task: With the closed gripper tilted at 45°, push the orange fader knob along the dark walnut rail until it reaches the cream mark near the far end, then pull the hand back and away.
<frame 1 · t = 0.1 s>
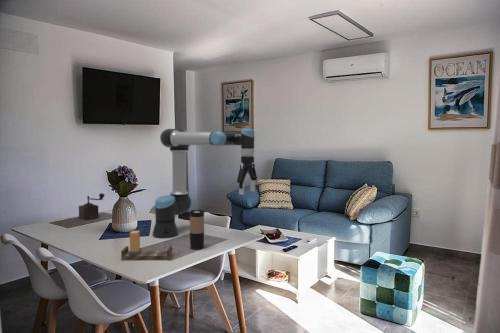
hand: (247, 192, 209), 28 cm above the table, tool pointing down, fingers open, 13 cm apart
fader knob: (135, 242, 179), point 8 cm above the table, slide at 0.0 cm
travel mug: (197, 248, 197), on the table
fader rail: (147, 257, 180), on the table
brown manual coffee grinder: (92, 218, 268), on the table
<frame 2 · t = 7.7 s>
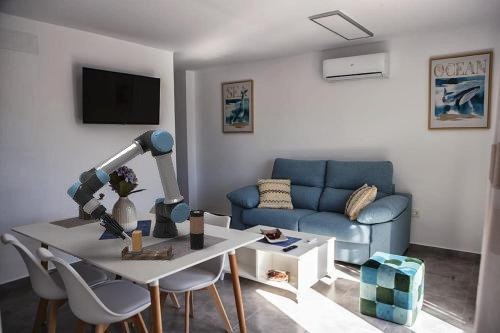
hand: (130, 242, 179), 8 cm above the table, tool tilted 45°, fingers closed
fader knob: (137, 242, 180), point 8 cm above the table, slide at 1.1 cm, touching gripper
everything else where it was.
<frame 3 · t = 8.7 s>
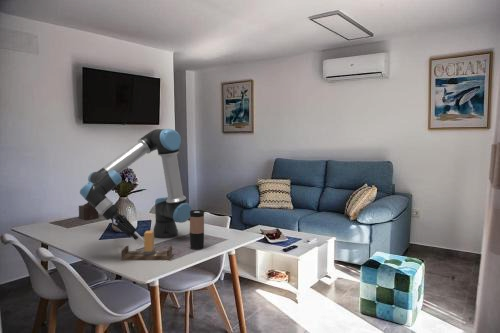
hand: (142, 242, 179), 8 cm above the table, tool tilted 45°, fingers closed
fader knob: (149, 242, 180), point 8 cm above the table, slide at 6.9 cm, touching gripper
everything else where it was.
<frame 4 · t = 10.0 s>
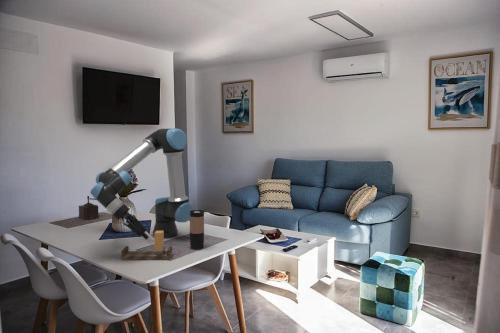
hand: (152, 242, 180), 8 cm above the table, tool tilted 45°, fingers closed
fader knob: (159, 242, 180), point 8 cm above the table, slide at 11.8 cm, touching gripper
everything else where it was.
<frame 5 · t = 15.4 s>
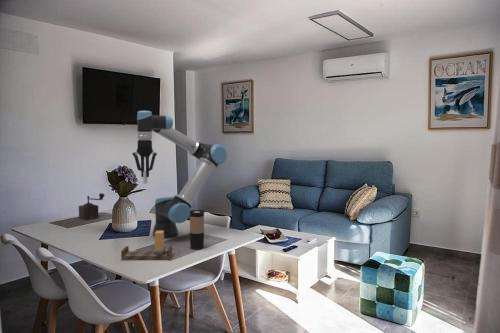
hand: (145, 183, 198), 34 cm above the table, tool pointing down, fingers closed
fader knob: (159, 242, 180), point 8 cm above the table, slide at 11.9 cm
everything else where it was.
at the end: fader knob slide at 11.9 cm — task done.
